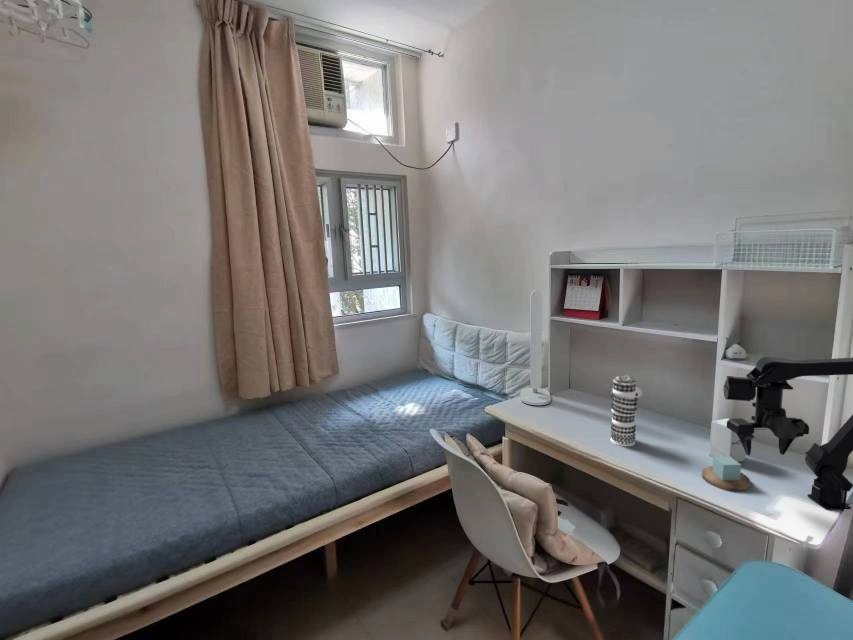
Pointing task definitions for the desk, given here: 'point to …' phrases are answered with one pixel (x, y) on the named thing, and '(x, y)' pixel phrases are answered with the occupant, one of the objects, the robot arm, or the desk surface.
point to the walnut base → (725, 481)
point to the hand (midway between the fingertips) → (764, 454)
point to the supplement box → (725, 442)
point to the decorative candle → (623, 411)
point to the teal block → (726, 468)
